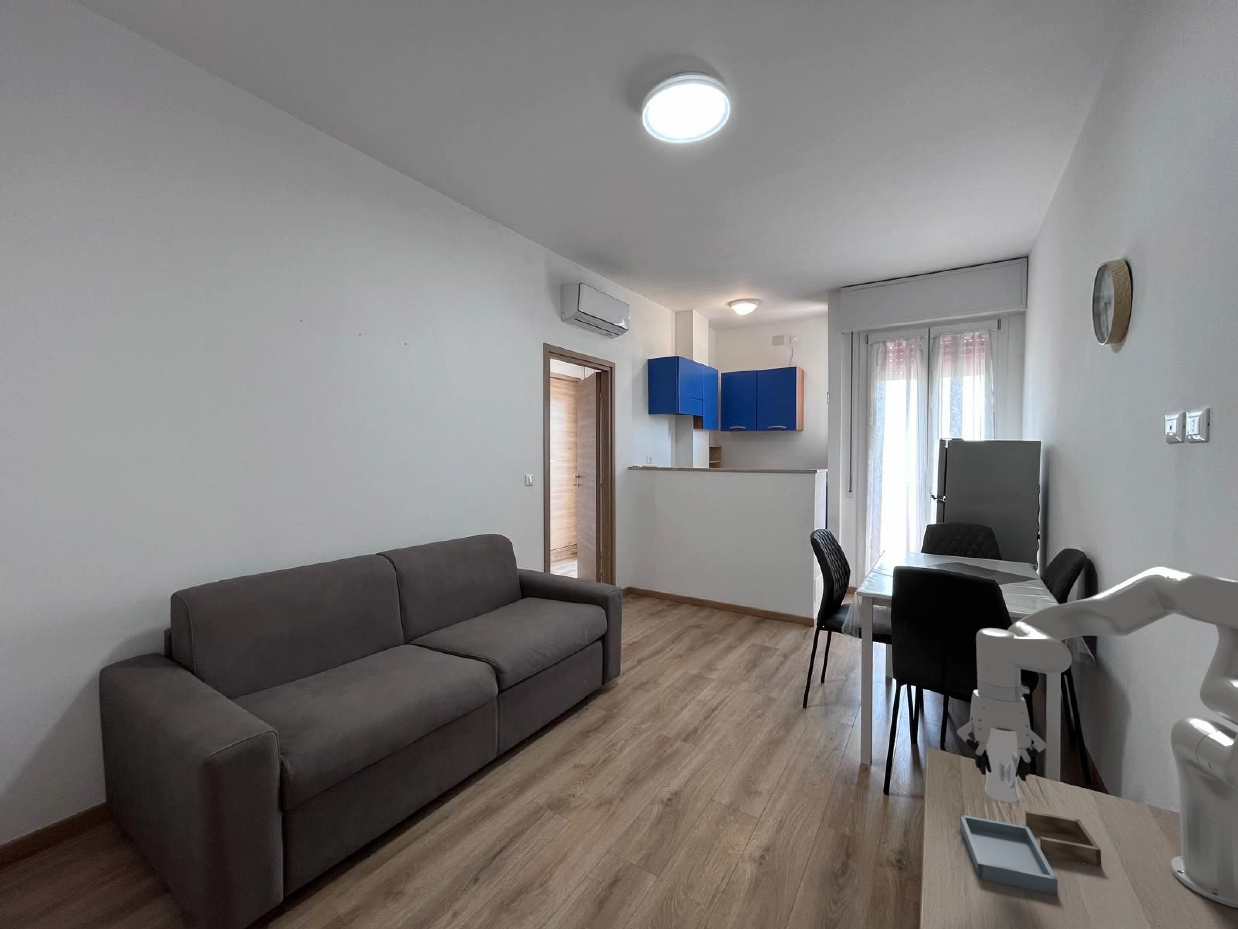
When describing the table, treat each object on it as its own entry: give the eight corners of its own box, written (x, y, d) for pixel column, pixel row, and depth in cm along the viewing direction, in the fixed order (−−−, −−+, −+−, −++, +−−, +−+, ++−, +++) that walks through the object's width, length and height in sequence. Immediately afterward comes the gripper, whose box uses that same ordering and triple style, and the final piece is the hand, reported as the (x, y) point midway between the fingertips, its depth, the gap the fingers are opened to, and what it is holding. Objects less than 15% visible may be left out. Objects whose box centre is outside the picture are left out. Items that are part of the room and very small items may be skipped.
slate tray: (1028, 840, 118) (1028, 827, 118) (1057, 895, 103) (1057, 879, 103) (960, 827, 122) (959, 814, 122) (978, 878, 107) (978, 863, 107)
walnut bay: (1080, 835, 119) (1079, 819, 119) (1101, 867, 109) (1100, 850, 109) (1025, 825, 122) (1025, 810, 122) (1042, 855, 113) (1041, 839, 113)
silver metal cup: (984, 799, 111) (982, 727, 111) (980, 782, 117) (978, 713, 117) (1026, 809, 108) (1024, 734, 108) (1019, 790, 114) (1017, 720, 114)
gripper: (1042, 687, 113) (1044, 772, 113) (948, 678, 119) (950, 758, 119) (1056, 702, 106) (1059, 793, 106) (955, 691, 112) (958, 776, 112)
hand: (1001, 773), depth 113 cm, fingers closed on silver metal cup, 6 cm apart
